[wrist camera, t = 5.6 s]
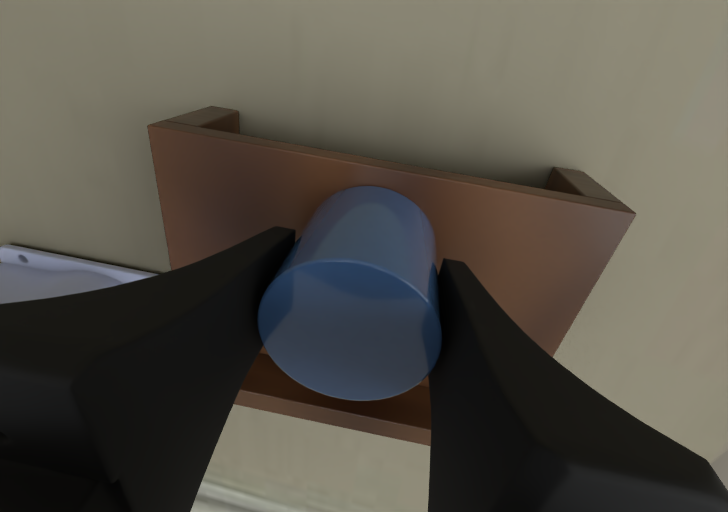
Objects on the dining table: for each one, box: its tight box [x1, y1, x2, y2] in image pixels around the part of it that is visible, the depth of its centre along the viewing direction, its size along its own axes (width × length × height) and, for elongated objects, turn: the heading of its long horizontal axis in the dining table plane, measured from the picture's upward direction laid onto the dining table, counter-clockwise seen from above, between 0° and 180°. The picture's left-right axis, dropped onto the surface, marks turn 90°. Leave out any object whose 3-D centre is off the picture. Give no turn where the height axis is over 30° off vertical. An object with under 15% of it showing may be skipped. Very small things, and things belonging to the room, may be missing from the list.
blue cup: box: [257, 186, 443, 401], centre depth 10 cm, size 4×4×4 cm
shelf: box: [147, 106, 636, 446], centre depth 14 cm, size 15×10×6 cm, turn 82°
